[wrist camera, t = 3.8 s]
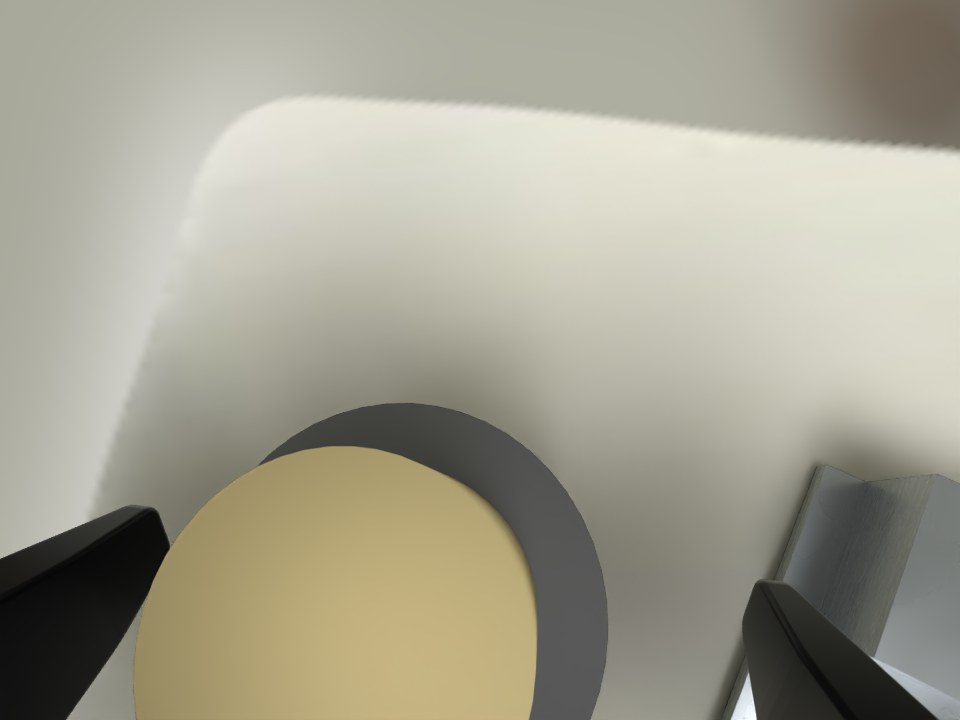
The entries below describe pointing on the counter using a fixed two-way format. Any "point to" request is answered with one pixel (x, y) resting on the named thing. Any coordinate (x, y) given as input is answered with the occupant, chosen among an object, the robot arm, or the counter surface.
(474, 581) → the grey and tan cylinder
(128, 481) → the counter surface
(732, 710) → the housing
